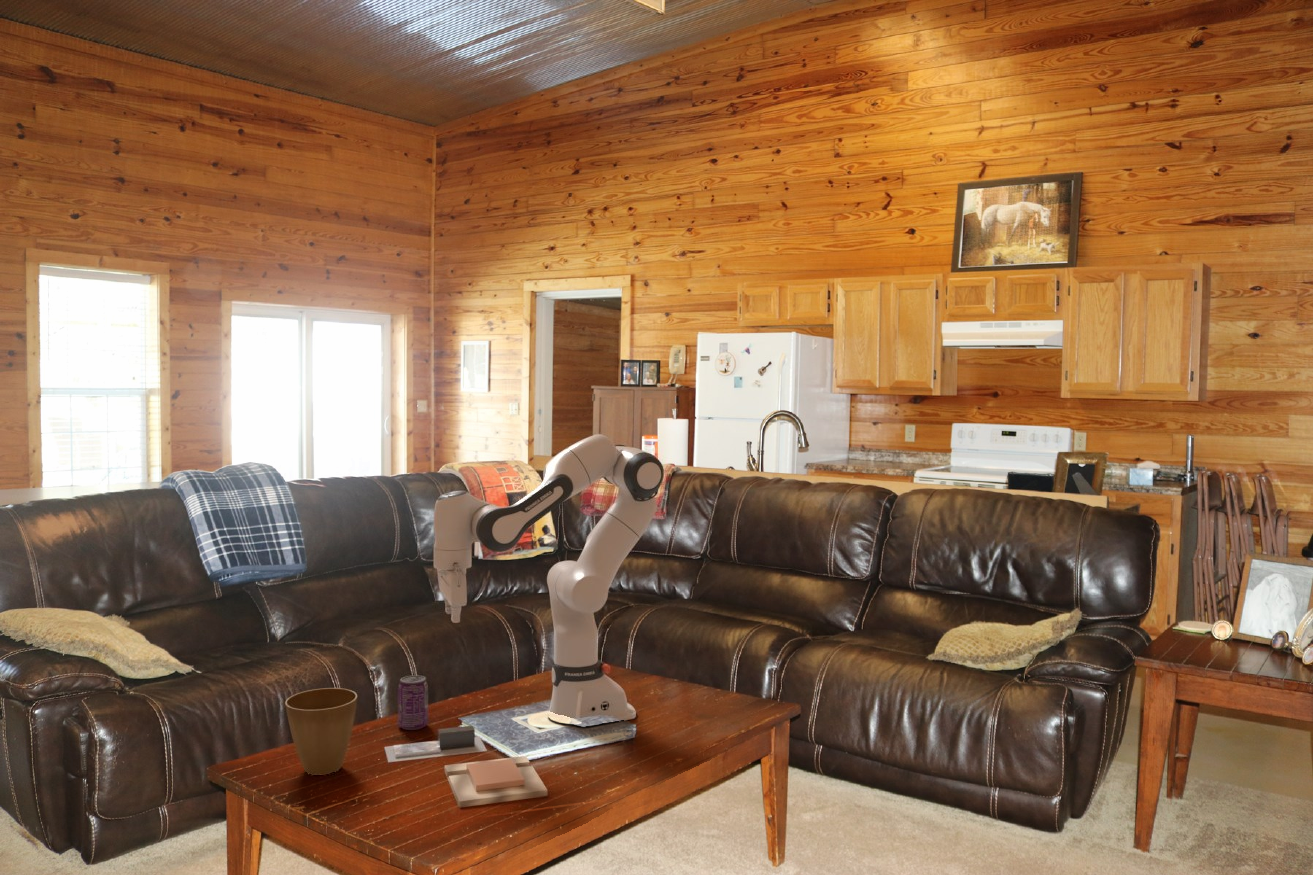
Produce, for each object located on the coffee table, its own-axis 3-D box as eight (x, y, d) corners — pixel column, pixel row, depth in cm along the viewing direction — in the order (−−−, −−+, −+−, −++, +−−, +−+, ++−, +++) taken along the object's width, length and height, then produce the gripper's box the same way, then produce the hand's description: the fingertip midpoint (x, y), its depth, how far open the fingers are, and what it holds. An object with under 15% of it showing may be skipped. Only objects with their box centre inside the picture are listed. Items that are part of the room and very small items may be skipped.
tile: (512, 758, 221) (524, 779, 210) (512, 764, 221) (524, 785, 210) (466, 764, 218) (476, 785, 207) (466, 770, 218) (476, 791, 207)
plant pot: (301, 756, 229) (300, 687, 228) (366, 758, 229) (366, 688, 228) (274, 782, 214) (273, 708, 214) (344, 784, 214) (343, 709, 213)
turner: (471, 740, 240) (471, 723, 240) (475, 748, 234) (475, 731, 234) (393, 748, 234) (392, 731, 233) (395, 757, 228) (395, 740, 228)
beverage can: (418, 719, 255) (418, 672, 254) (433, 727, 250) (433, 679, 249) (392, 726, 250) (392, 678, 249) (408, 733, 245) (407, 684, 244)
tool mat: (479, 737, 242) (479, 736, 242) (487, 752, 233) (487, 750, 233) (384, 748, 235) (384, 746, 235) (388, 763, 225) (388, 762, 225)
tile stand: (525, 762, 227) (525, 755, 227) (547, 797, 208) (547, 789, 208) (444, 772, 221) (444, 765, 221) (459, 809, 202) (459, 801, 202)
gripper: (473, 566, 231) (473, 626, 232) (459, 552, 250) (459, 607, 251) (445, 568, 229) (445, 628, 230) (433, 553, 248) (433, 609, 249)
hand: (452, 617), depth 241 cm, fingers open, 8 cm apart
